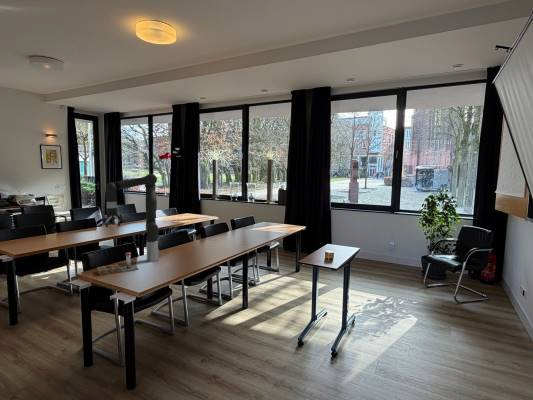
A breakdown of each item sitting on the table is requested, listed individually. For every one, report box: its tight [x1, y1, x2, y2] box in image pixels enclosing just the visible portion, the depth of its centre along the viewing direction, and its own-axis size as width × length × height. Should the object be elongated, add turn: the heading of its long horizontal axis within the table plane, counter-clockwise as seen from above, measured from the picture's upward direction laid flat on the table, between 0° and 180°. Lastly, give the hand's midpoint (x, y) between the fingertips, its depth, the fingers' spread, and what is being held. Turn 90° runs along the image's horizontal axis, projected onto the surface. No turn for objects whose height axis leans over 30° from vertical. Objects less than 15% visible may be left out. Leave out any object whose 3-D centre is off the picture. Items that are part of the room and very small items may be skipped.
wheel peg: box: [124, 251, 132, 269], centre depth 247 cm, size 4×4×12 cm
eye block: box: [96, 263, 121, 276], centre depth 240 cm, size 14×12×4 cm
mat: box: [119, 264, 139, 273], centre depth 247 cm, size 12×12×1 cm
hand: (112, 226), depth 256 cm, fingers open, 8 cm apart
